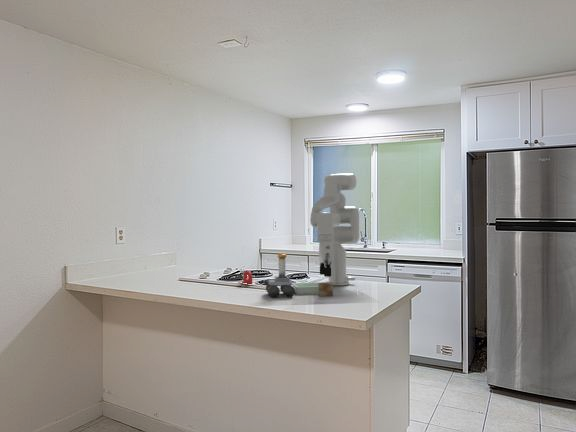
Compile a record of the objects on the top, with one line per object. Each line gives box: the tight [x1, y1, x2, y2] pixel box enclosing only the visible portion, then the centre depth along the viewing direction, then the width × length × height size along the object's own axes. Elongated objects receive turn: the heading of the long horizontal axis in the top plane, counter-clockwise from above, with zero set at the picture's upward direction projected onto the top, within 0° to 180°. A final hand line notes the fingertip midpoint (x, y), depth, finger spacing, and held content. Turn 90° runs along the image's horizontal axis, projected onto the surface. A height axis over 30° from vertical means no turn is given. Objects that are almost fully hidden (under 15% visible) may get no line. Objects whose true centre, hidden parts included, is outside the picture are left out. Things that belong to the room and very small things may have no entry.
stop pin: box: [277, 253, 287, 278], centre depth 209 cm, size 4×4×12 cm
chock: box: [318, 281, 334, 298], centre depth 208 cm, size 6×4×6 cm, turn 97°
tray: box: [292, 282, 320, 295], centre depth 219 cm, size 16×13×4 cm
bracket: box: [239, 270, 254, 284], centre depth 246 cm, size 12×4×8 cm, turn 41°
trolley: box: [265, 275, 296, 299], centre depth 209 cm, size 12×12×8 cm
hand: (325, 275), depth 207 cm, fingers open, 9 cm apart
